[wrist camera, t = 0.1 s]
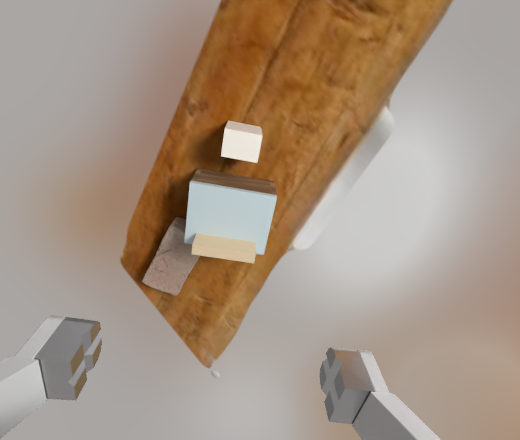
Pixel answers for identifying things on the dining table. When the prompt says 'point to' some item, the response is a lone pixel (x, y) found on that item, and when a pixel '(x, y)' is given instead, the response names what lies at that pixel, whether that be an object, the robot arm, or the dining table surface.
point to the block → (241, 141)
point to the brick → (171, 260)
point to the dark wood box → (234, 181)
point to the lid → (228, 221)
